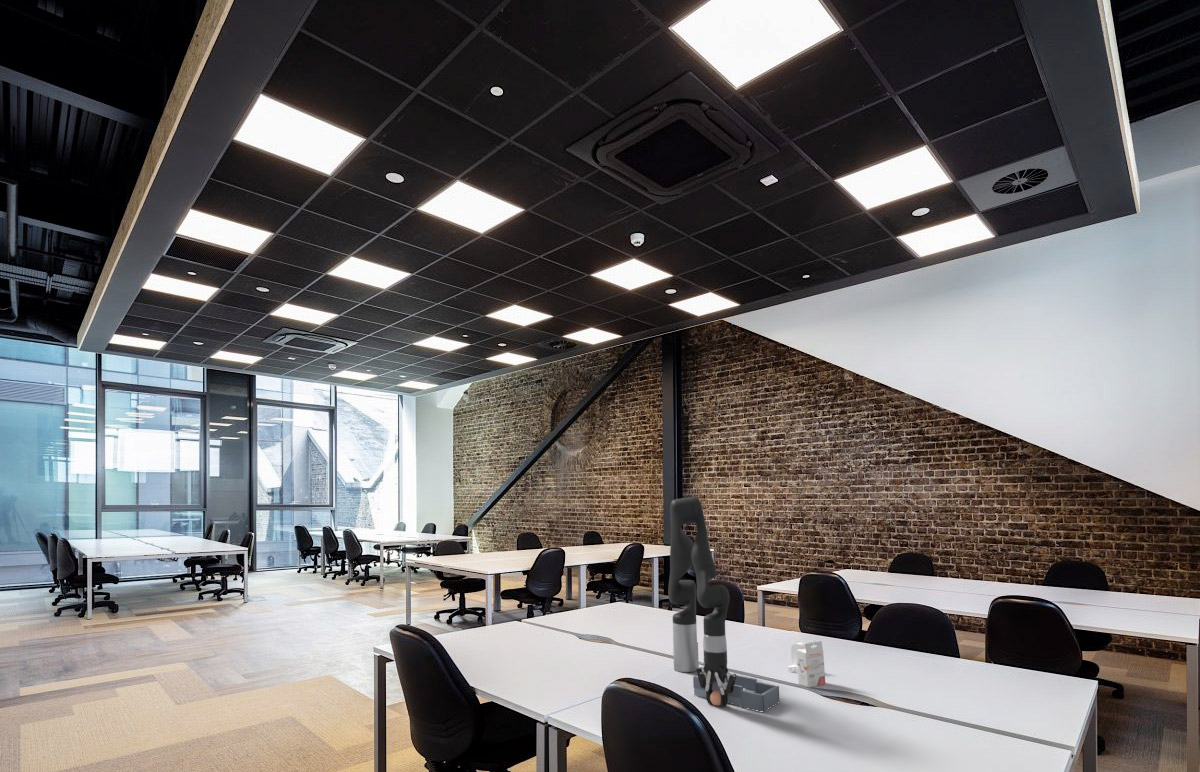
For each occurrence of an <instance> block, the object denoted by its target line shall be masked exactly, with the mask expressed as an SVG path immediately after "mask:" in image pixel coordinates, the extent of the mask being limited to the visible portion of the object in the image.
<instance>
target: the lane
mask: <svg viewBox="0 0 1200 772" xmlns="http://www.w3.org/2000/svg"><path fill="white" fill-rule="evenodd" d="M725 679H726V682H727V684H728V677H727V676H726V678H725ZM692 680H693V682H692V683H693V687H692V688H693V692H694V696H695V695H696V696H697V697H699V696H700V698H704V699H706V690H705V689H704V688H701V687H700V683H699V679H698V677H697V675H694V676H692ZM712 690H713V691H720V687H719V686H718V683H716V682H714V683H713V687H712ZM720 692H721V691H720ZM727 697H728V702H729V703H733V704H737V705H741V706H740V708H741V707H745V708H749V709H754V710H758V711H765V710H767V709H768V708H770V707H772V706H773V705H775V704H777V703H778V702H780V703H781V700H780V686H779V685H774V684H769V683H765V682H759V681H758V680H757V678H753V677H748V676H743V675H737V674H736V680H735V684H734V689H733V692H731V693H729V694H727ZM729 703H728V704H729ZM733 704H732V705H733ZM778 704H779V703H778ZM778 704H777V705H778ZM737 705H736V706H737ZM775 706H776V705H775ZM773 707H774V706H773ZM773 707H772V708H773ZM745 708H744V709H745ZM749 709H748V710H749ZM770 709H771V708H770ZM758 711H757V712H758ZM767 711H768V710H767ZM765 712H766V711H765Z"/></svg>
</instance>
